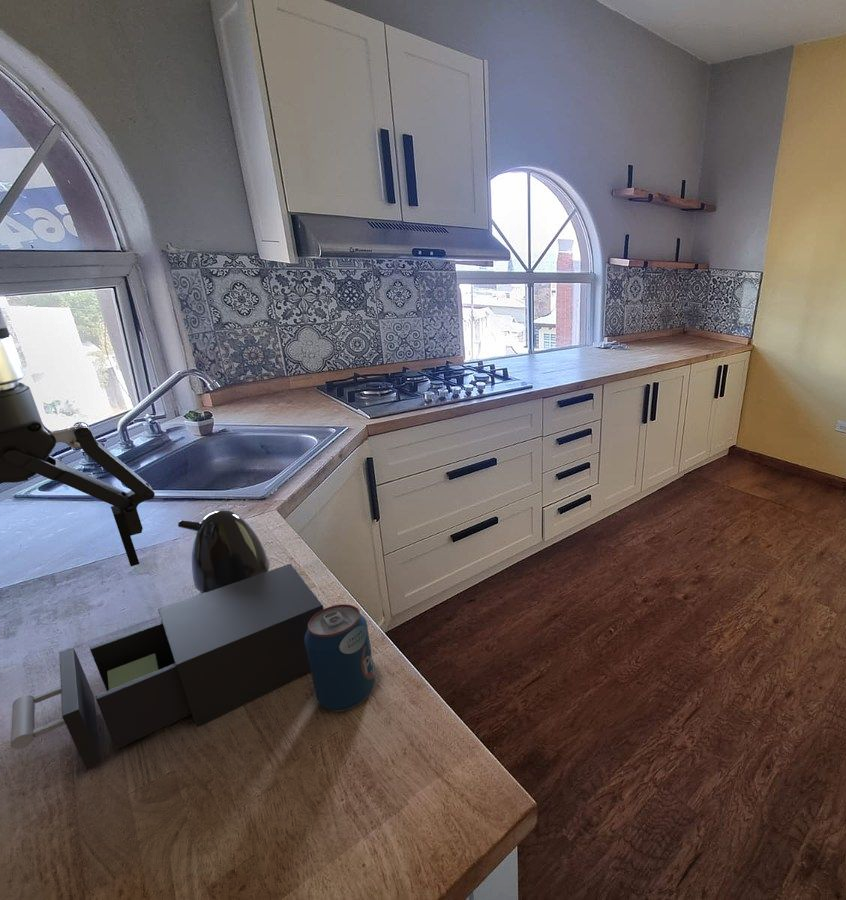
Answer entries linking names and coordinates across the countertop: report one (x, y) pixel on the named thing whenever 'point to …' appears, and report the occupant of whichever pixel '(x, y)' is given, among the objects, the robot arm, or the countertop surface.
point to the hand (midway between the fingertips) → (47, 585)
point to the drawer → (109, 696)
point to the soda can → (340, 657)
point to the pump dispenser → (224, 551)
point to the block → (132, 671)
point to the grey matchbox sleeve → (240, 640)
